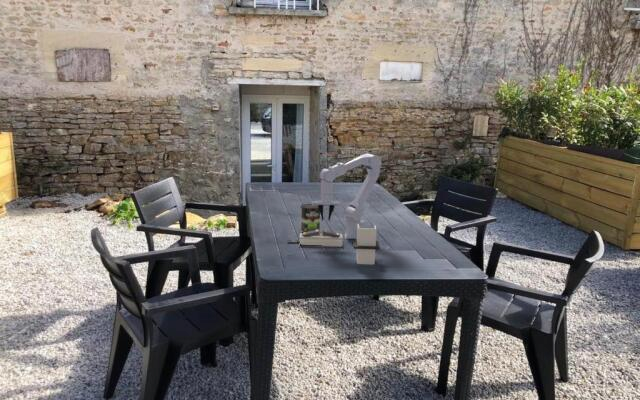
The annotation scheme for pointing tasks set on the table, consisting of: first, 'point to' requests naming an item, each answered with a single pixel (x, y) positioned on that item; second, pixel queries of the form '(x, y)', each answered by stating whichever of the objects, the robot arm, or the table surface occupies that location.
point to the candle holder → (366, 245)
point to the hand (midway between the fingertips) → (325, 219)
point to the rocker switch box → (321, 240)
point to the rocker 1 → (311, 233)
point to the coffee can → (310, 218)
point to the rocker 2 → (330, 233)
